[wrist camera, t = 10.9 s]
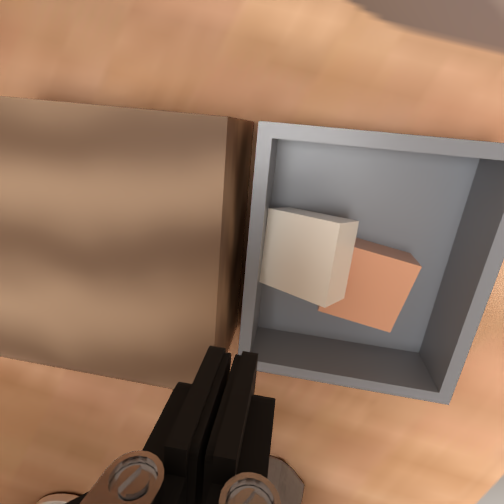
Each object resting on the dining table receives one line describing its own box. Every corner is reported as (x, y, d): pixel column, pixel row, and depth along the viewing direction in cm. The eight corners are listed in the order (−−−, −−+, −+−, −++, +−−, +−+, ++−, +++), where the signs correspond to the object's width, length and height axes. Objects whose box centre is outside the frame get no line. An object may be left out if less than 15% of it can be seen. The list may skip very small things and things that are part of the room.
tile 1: (317, 310, 23) (316, 294, 25) (390, 332, 22) (382, 313, 25) (343, 243, 21) (339, 232, 23) (421, 266, 21) (410, 253, 23)
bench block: (236, 326, 28) (211, 396, 21) (60, 297, 30) (-21, 352, 22) (253, 122, 22) (227, 116, 15) (36, 102, 24) (-84, 88, 17)
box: (423, 356, 26) (448, 404, 22) (248, 328, 28) (236, 367, 23) (492, 143, 21) (545, 146, 16) (268, 123, 22) (258, 120, 18)
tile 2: (259, 282, 23) (281, 275, 24) (325, 308, 20) (344, 298, 21) (268, 208, 21) (290, 207, 23) (340, 223, 18) (359, 220, 20)
